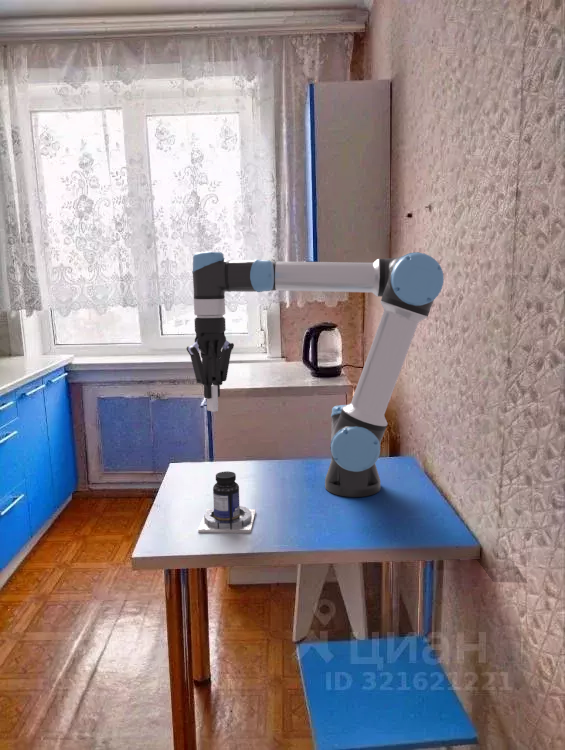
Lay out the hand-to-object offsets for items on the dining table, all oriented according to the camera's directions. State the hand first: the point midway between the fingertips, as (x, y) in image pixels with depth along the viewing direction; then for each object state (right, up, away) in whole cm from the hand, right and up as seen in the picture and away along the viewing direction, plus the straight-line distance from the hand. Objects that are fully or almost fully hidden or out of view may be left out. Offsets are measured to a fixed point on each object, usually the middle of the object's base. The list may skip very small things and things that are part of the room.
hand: (212, 410), depth 149 cm
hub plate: (+5, -26, -8) cm, 28 cm away
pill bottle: (+4, -25, -8) cm, 27 cm away
